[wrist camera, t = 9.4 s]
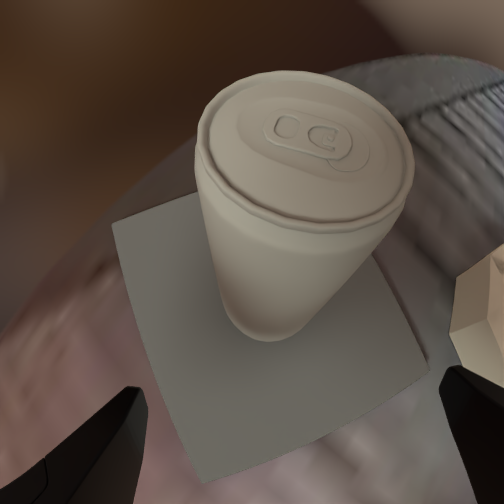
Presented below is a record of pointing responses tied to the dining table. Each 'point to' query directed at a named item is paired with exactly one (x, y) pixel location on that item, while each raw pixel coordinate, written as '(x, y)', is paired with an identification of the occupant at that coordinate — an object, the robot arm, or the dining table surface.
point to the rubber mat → (255, 349)
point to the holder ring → (481, 317)
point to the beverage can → (295, 193)
